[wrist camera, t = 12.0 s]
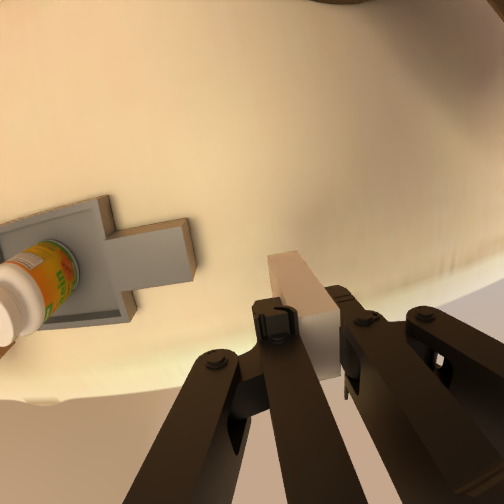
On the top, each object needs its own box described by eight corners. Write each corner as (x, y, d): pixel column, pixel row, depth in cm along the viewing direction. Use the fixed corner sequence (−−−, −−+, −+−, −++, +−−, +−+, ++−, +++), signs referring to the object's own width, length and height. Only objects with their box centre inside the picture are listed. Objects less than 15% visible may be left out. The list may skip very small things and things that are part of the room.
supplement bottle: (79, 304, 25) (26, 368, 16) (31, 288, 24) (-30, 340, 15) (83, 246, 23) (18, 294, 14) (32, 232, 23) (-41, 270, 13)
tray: (180, 179, 23) (173, 182, 20) (204, 300, 26) (201, 318, 23) (-4, 226, 23) (-23, 234, 20) (26, 321, 26) (12, 335, 23)
